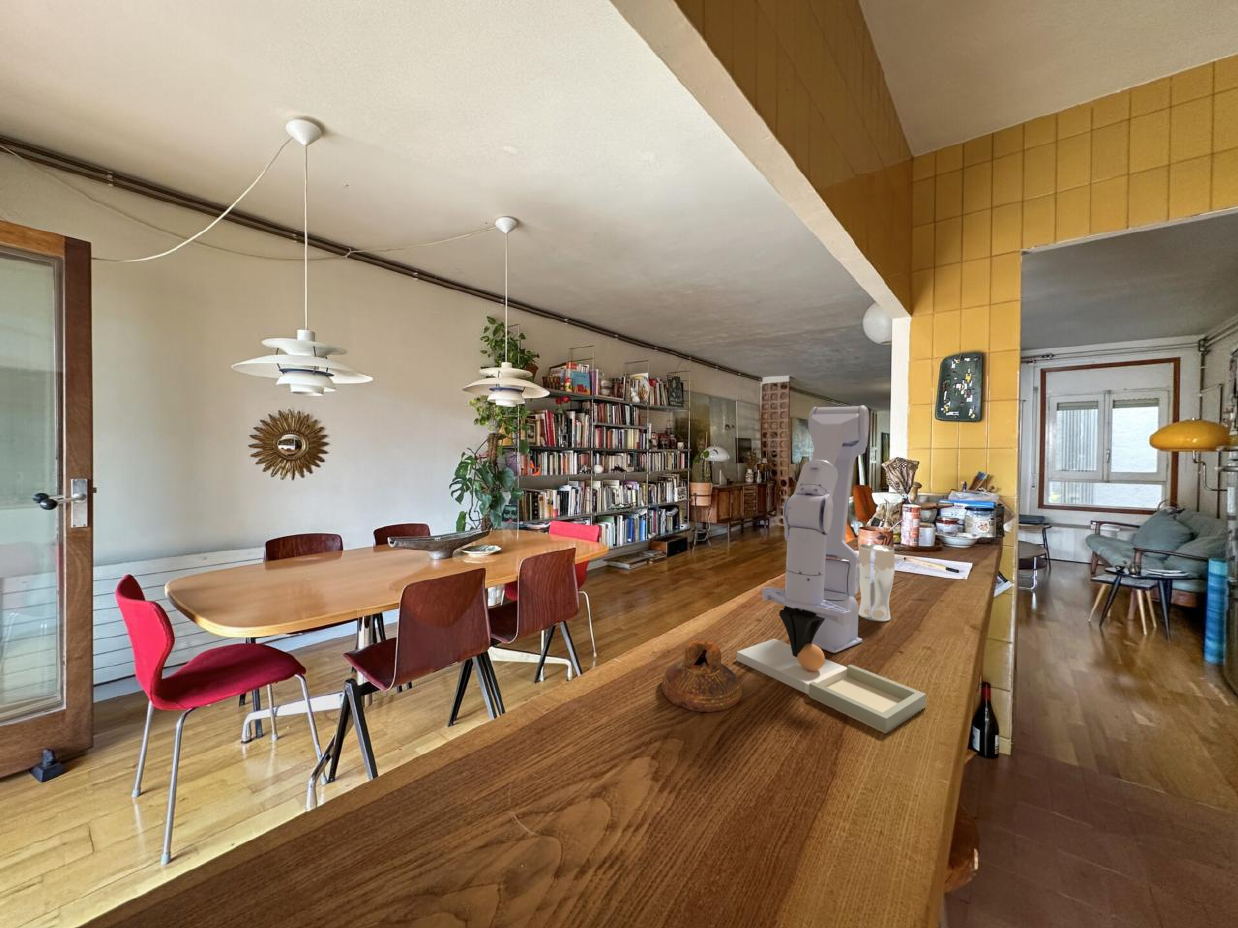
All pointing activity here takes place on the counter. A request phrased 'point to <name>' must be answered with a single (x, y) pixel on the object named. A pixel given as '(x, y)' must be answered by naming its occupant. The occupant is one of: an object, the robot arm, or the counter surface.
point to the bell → (701, 680)
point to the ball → (811, 657)
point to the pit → (870, 699)
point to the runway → (788, 665)
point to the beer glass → (876, 580)
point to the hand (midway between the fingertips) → (801, 656)
